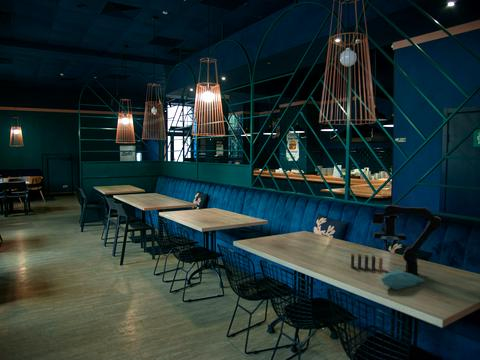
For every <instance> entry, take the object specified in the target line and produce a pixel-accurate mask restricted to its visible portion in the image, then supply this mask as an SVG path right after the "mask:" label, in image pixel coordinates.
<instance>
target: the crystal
mask: <svg viewBox="0 0 480 360" xmlns="http://www.w3.org/2000/svg"><path fill="white" fill-rule="evenodd" d="M380 281H381V282H382V283H383V285H384V286H386V287H389V288H391V289H393V290H396V291H397V290H400V289H405V288H411V287H414V286H416V285H418V284H420V283H423V282H424V281H425V279H424V278H422V277H420V276H418V275H413V274H410V273H406V272H404V271H401V270H397V269H393V270H392V271H390V272H388V273H384V274H383V275H382V277H381V278H380Z"/></svg>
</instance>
